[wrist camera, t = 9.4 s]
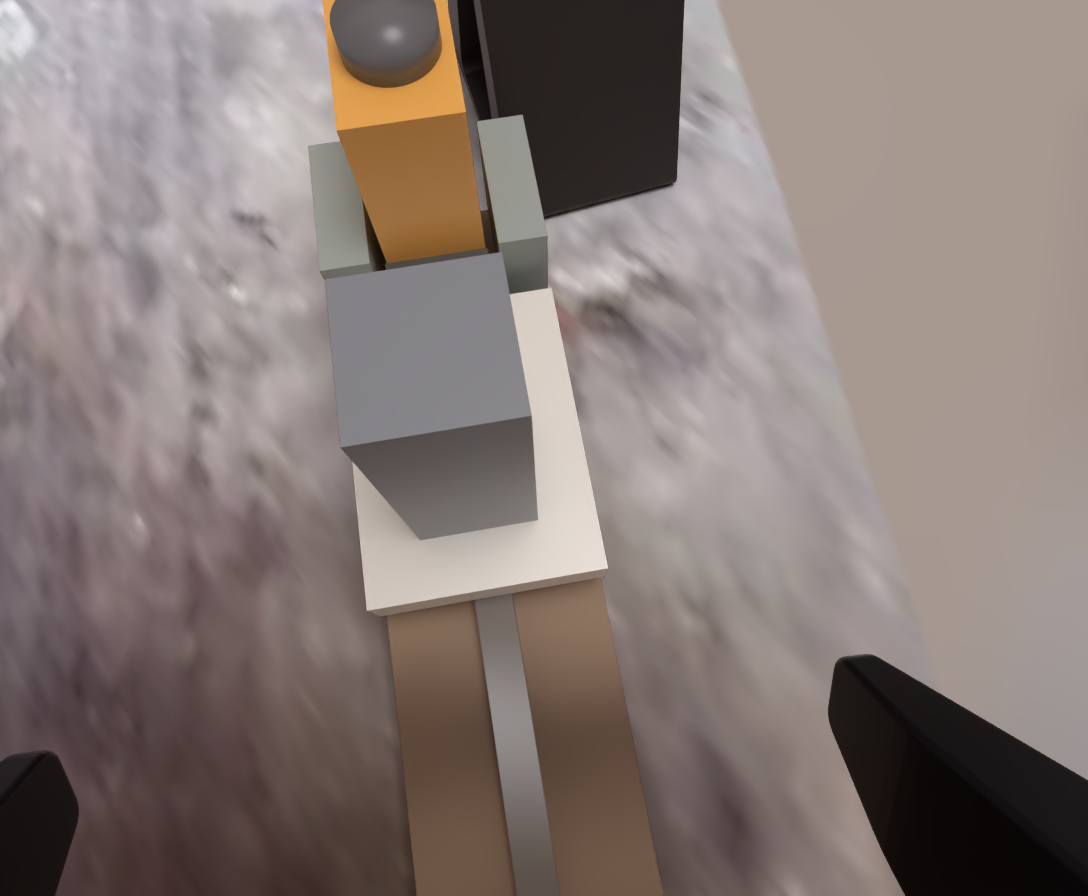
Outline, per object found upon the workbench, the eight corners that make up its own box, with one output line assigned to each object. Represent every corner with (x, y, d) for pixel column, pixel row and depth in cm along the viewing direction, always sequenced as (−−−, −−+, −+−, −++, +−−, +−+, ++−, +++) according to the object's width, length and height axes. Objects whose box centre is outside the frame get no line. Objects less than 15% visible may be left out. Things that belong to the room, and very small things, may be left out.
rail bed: (660, 904, 19) (673, 930, 17) (434, 950, 19) (419, 982, 17) (528, 230, 26) (526, 190, 24) (357, 256, 26) (340, 218, 23)
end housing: (547, 310, 23) (547, 235, 19) (357, 340, 23) (319, 270, 19) (526, 203, 24) (522, 114, 21) (345, 231, 24) (308, 145, 20)
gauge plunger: (493, 303, 23) (461, 81, 15) (407, 316, 23) (325, 101, 14) (474, 196, 24) (435, -65, 16) (392, 208, 24) (310, -48, 16)
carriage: (603, 577, 20) (645, 490, 11) (380, 616, 19) (247, 559, 11) (545, 284, 22) (543, 36, 14) (348, 315, 22) (223, 81, 14)
